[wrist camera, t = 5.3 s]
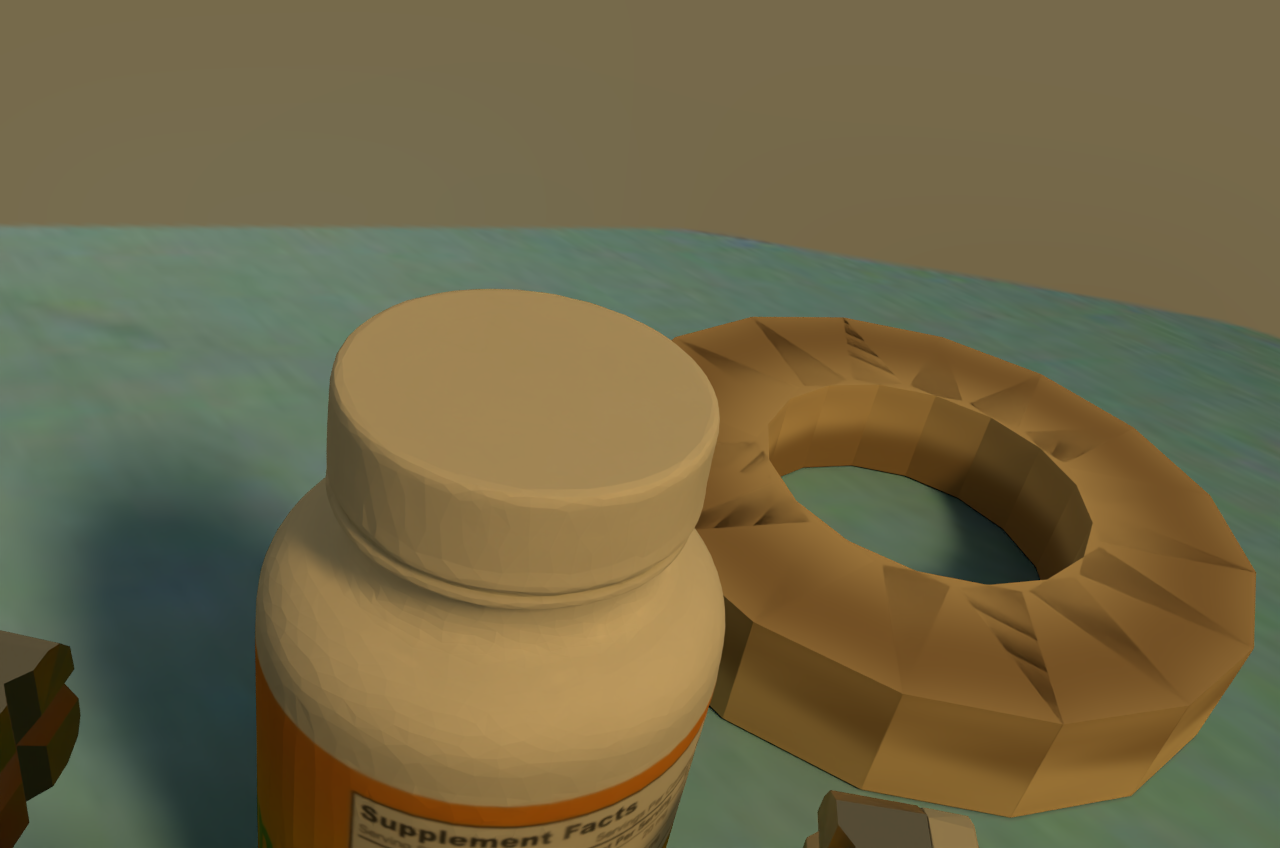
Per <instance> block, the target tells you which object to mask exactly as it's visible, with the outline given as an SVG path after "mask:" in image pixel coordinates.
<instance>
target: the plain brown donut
mask: <svg viewBox="0 0 1280 848" xmlns="http://www.w3.org/2000/svg"><path fill="white" fill-rule="evenodd" d="M671 341H672V342H674V343H675V344H676V345H678V346H679V347H680V348H681V349H682V350H683V351H685V352H686V353H687V354H688V355H689V356H690V357H691V358H692V359H693V360H694V361H695V362H696V363H697V364H698V365H699V367H700V368H701V369H702V370H703V372H704V373H705V375H706V376H707V378H708V380H709V381H710V383H711V385H712V387H713V389H714V392H715V394H716V397H717V400H718V407H719V416H720V424H719V434H718V438H717V442H716V446H715V450H714V454H713V458H712V463H711V468H710V472H709V477H708V481H707V487H706V494H705V499H704V504H703V508H702V511H701V514H700V517H699V520H698V522H697V524H696V526H695V529H696V530H697V532H698V534H699V535H700V537H701V538H702V540H703V541H704V543H705V545H706V547H707V549H708V551H709V553H710V554H711V557H712V559H713V562H714V565H715V567H716V569H717V572H718V576H719V579H720V583H721V587H722V592H723V597H724V606H725V635H724V644H723V650H722V655H721V661H720V665H719V670H718V675H717V681H716V685H715V688H714V692H713V695H712V699H711V702H710V706H711V707H712V708H713V709H714V710H715V711H716V712H717V713H718V714H719V715H720V716H721V717H722V718H723V719H725V720H727V721H729V722H731V723H733V724H735V725H737V726H739V727H741V728H743V729H745V730H746V731H748V732H750V733H752V734H754V735H756V736H758V737H760V738H762V739H764V740H766V741H768V742H770V743H772V744H774V745H776V746H778V747H780V748H781V749H783V750H785V751H787V752H789V753H791V754H793V755H795V756H797V757H799V758H801V759H803V760H805V761H807V762H809V763H811V764H813V765H815V766H816V767H818V768H820V769H822V770H824V771H826V772H828V773H830V774H832V775H834V776H836V777H838V778H840V779H842V780H844V781H846V782H848V783H850V784H851V785H853V786H855V787H857V788H859V789H862V790H867V791H872V792H878V793H883V794H888V795H894V796H899V797H904V798H909V799H915V800H920V801H925V802H931V803H936V804H941V805H947V806H952V807H957V808H963V809H968V810H973V811H979V812H984V813H989V814H995V815H1000V816H1005V817H1010V818H1011V817H1017V816H1022V815H1028V814H1033V813H1039V812H1044V811H1049V810H1055V809H1060V808H1066V807H1071V806H1077V805H1082V804H1088V803H1093V802H1099V801H1104V800H1110V799H1115V798H1121V797H1126V796H1131V795H1132V794H1133V793H1134V792H1136V791H1137V790H1138V789H1139V788H1140V787H1141V786H1142V785H1143V784H1144V783H1145V782H1146V781H1147V780H1148V779H1150V778H1151V777H1152V776H1153V775H1154V774H1155V773H1156V772H1157V771H1158V770H1159V769H1160V768H1161V767H1162V766H1163V765H1165V764H1166V763H1167V762H1168V761H1169V760H1170V759H1171V758H1172V757H1173V756H1174V755H1175V754H1176V753H1177V752H1178V751H1180V750H1181V749H1182V748H1183V747H1184V746H1185V745H1186V744H1187V743H1188V742H1189V741H1190V740H1191V739H1192V738H1194V737H1195V736H1196V735H1197V733H1198V732H1199V730H1200V729H1201V727H1202V726H1203V724H1204V723H1205V721H1206V720H1207V718H1208V717H1209V715H1210V714H1211V712H1212V711H1213V709H1214V708H1215V706H1216V705H1217V703H1218V702H1219V700H1220V699H1221V697H1222V696H1223V694H1224V693H1225V691H1226V690H1227V688H1228V687H1229V685H1230V684H1231V682H1232V681H1233V679H1234V678H1235V676H1236V675H1237V673H1238V672H1239V670H1240V669H1241V667H1242V666H1243V664H1244V662H1245V661H1246V659H1247V658H1248V656H1249V655H1250V653H1251V652H1252V650H1253V649H1254V624H1255V587H1256V572H1255V570H1254V569H1253V567H1252V565H1251V564H1250V562H1249V560H1248V558H1247V557H1246V555H1245V553H1244V552H1243V550H1242V548H1241V547H1240V545H1239V543H1238V542H1237V540H1236V538H1235V537H1234V535H1233V533H1232V532H1231V530H1230V528H1229V527H1228V525H1227V523H1226V521H1225V520H1224V518H1223V516H1222V515H1221V513H1220V511H1219V510H1218V508H1217V506H1216V505H1215V503H1214V501H1213V500H1212V498H1211V496H1210V495H1209V494H1208V493H1207V492H1205V491H1204V490H1203V489H1202V488H1201V487H1200V486H1199V485H1198V484H1196V483H1195V482H1194V481H1193V480H1192V479H1191V478H1190V477H1189V476H1187V475H1186V474H1185V473H1184V472H1183V471H1182V470H1181V469H1180V468H1178V467H1177V466H1176V465H1175V464H1174V463H1173V462H1172V461H1171V460H1169V459H1168V458H1167V457H1166V456H1165V455H1164V454H1163V453H1162V452H1160V451H1159V450H1158V449H1157V448H1156V447H1155V446H1154V445H1153V444H1151V443H1150V442H1149V441H1148V440H1147V439H1146V438H1145V437H1144V436H1142V435H1141V434H1140V433H1139V432H1138V431H1137V430H1136V429H1135V428H1133V427H1131V426H1130V425H1128V424H1126V423H1124V422H1123V421H1121V420H1119V419H1118V418H1116V417H1114V416H1112V415H1111V414H1109V413H1107V412H1105V411H1104V410H1102V409H1100V408H1099V407H1097V406H1095V405H1093V404H1092V403H1090V402H1088V401H1086V400H1085V399H1083V398H1081V397H1079V396H1078V395H1076V394H1074V393H1073V392H1071V391H1069V390H1067V389H1066V388H1064V387H1062V386H1060V385H1059V384H1057V383H1055V382H1054V381H1052V380H1050V379H1048V378H1047V377H1045V376H1043V375H1041V374H1039V373H1036V372H1033V371H1031V370H1028V369H1025V368H1023V367H1020V366H1017V365H1015V364H1012V363H1009V362H1007V361H1004V360H1001V359H999V358H996V357H993V356H991V355H988V354H985V353H983V352H980V351H977V350H975V349H972V348H969V347H967V346H964V345H961V344H959V343H956V342H953V341H951V340H948V339H945V338H943V337H938V336H933V335H928V334H923V333H918V332H913V331H908V330H903V329H898V328H893V327H888V326H883V325H878V324H873V323H868V322H863V321H858V320H853V319H848V318H831V317H750V318H746V319H742V320H739V321H735V322H731V323H727V324H723V325H720V326H716V327H712V328H708V329H705V330H701V331H697V332H693V333H689V334H686V335H682V336H678V337H675V338H674V339H673V340H671ZM845 465H853V466H858V467H864V468H869V469H874V470H879V471H884V472H889V473H894V474H899V475H904V476H907V477H910V478H912V479H914V480H917V481H919V482H922V483H924V484H926V485H929V486H931V487H934V488H936V489H938V490H941V491H943V492H945V493H948V494H950V495H953V496H955V497H957V498H959V499H960V500H962V501H963V502H965V503H966V504H968V505H969V506H971V507H972V508H973V509H975V510H976V511H978V512H979V513H981V514H982V515H984V516H985V517H987V518H988V519H989V520H991V521H992V522H994V523H995V524H997V525H998V526H1000V527H1001V528H1002V529H1004V530H1005V532H1006V533H1007V534H1008V535H1009V536H1010V537H1011V539H1012V540H1013V541H1014V542H1015V543H1016V544H1017V546H1018V547H1019V548H1020V549H1021V550H1022V551H1023V552H1024V554H1025V555H1026V556H1027V557H1028V558H1029V559H1030V561H1031V562H1032V563H1033V564H1034V565H1035V566H1036V568H1037V571H1038V574H1039V577H1040V580H1037V581H1026V582H1015V583H1005V584H994V585H985V584H980V583H975V582H970V581H964V580H959V579H954V578H949V577H944V576H939V575H933V574H928V573H923V572H918V571H915V570H913V569H910V568H908V567H906V566H904V565H901V564H899V563H897V562H895V561H892V560H890V559H888V558H886V557H883V556H881V555H879V554H877V553H874V552H872V551H870V550H868V549H865V548H863V547H861V546H858V545H856V544H854V543H852V542H849V541H848V540H846V539H845V538H844V537H842V536H841V535H840V534H838V533H837V532H836V531H835V530H833V529H832V528H831V527H829V526H828V525H827V524H826V523H824V522H823V521H822V520H820V519H819V518H818V517H816V516H815V515H814V514H813V513H811V512H810V511H809V510H807V509H806V508H805V507H804V506H802V505H801V504H800V503H798V502H797V501H796V500H795V498H794V497H793V495H792V494H791V492H790V491H789V489H788V488H787V486H786V485H785V483H784V481H783V480H782V478H781V476H783V475H786V474H788V473H790V472H793V471H795V470H798V469H800V468H803V467H823V466H845Z"/></svg>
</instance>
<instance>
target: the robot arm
mask: <svg viewBox="0 0 1280 848" xmlns="http://www.w3.org/2000/svg"><path fill="white" fill-rule="evenodd" d="M73 670H74V664H73V659H72V654H71V649H70V646H67V645H63V644H60V643H56V642H51V641H46V640H42V639H37V638H33V637H28V636H24V635H19V634H15V633H10V632H6V631H1V630H0V848H13V847H14V845H15V844H16V842H17V841H18V839H19V838H20V836H21V834H22V833H23V831H24V830H25V828H26V827H27V825H28V824H29V817H28V811H27V804H26V802H27V801H28V800H30V799H32V798H34V797H35V796H37V795H39V794H41V793H42V792H44V791H46V790H48V789H50V788H51V787H53V786H54V784H55V783H56V781H57V779H58V778H59V776H60V775H61V773H62V771H63V770H64V768H65V767H66V765H67V763H68V761H69V758H70V756H71V753H72V750H73V748H74V745H75V742H76V740H77V737H78V732H79V723H80V707H79V699H78V697H77V696H76V695H75V694H74V693H73V692H72V691H71V690H70V689H69V688H68V687H67V686H66V685H65V684H64V683H65V682H66V680H67V679H68V677H69V676H70V674H71V673H72V672H73ZM803 848H979V846H978V841H977V837H976V832H975V827H974V824H973V823H972V821H971V820H970V818H969V817H968V816H964V815H959V814H954V813H948V812H943V811H938V810H933V809H928V808H919V807H918V806H916V805H910V804H905V803H899V802H894V801H888V800H883V799H877V798H871V797H866V796H860V795H855V794H849V793H843V792H838V791H832V790H830V791H829V792H828V793H827V794H826V795H825V796H824V798H823V800H822V803H821V805H820V807H819V809H818V832H816V833H815V834H813V835H811V836H809V837H807V838H806V840H805V843H804V846H803Z"/></svg>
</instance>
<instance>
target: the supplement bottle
mask: <svg viewBox="0 0 1280 848" xmlns="http://www.w3.org/2000/svg"><path fill="white" fill-rule="evenodd" d="M719 424H720V416H719V407H718V400H717V397H716V394H715V392H714V389H713V387H712V385H711V383H710V381H709V380H708V378H707V376H706V375H705V373H704V372H703V370H702V369H701V368H700V367H699V365H698V364H697V363H696V362H695V361H694V360H693V359H692V358H691V357H690V356H689V355H688V354H687V353H686V352H685V351H683V350H682V349H681V348H680V347H679V346H678V345H676V344H675V343H674V342H672V341H671V340H670V339H668V338H667V337H665V336H664V335H662V334H661V333H659V332H658V331H656V330H654V329H652V328H650V327H649V326H647V325H645V324H643V323H641V322H638V321H636V320H634V319H632V318H630V317H628V316H626V315H623V314H620V313H617V312H615V311H612V310H609V309H607V308H604V307H601V306H598V305H595V304H592V303H589V302H585V301H580V300H576V299H572V298H568V297H564V296H560V295H555V294H549V293H542V292H532V291H524V290H512V289H474V290H459V291H450V292H444V293H437V294H433V295H429V296H424V297H420V298H416V299H412V300H407V301H405V302H402V303H400V304H397V305H395V306H392V307H390V308H388V309H386V310H384V311H382V312H380V313H378V314H377V315H375V316H373V317H372V318H370V319H369V320H368V321H366V322H365V323H363V324H362V325H360V326H359V327H358V328H357V329H356V330H355V331H354V332H353V333H351V334H350V335H349V336H348V337H347V339H346V340H345V342H344V343H343V345H342V347H341V348H340V350H339V351H338V353H337V355H336V358H335V361H334V364H333V368H332V372H331V377H330V386H329V403H328V421H327V470H326V477H325V478H324V479H323V480H322V481H320V482H319V483H318V484H317V485H316V486H314V487H313V488H312V489H311V490H310V491H309V492H307V493H306V494H305V496H304V497H303V498H302V499H301V500H300V501H299V502H298V503H297V504H296V505H295V506H294V508H293V509H292V510H291V511H290V512H289V514H288V515H287V517H286V518H285V520H284V521H283V523H282V524H281V525H280V527H279V528H278V530H277V532H276V534H275V536H274V538H273V540H272V542H271V544H270V546H269V549H268V551H267V553H266V555H265V558H264V562H263V565H262V568H261V573H260V578H259V584H258V591H257V598H256V623H255V663H256V724H257V821H258V848H666V846H667V842H668V839H669V836H670V833H671V829H672V826H673V822H674V819H675V815H676V812H677V809H678V805H679V802H680V799H681V796H682V793H683V789H684V786H685V783H686V780H687V776H688V773H689V769H690V766H691V763H692V759H693V756H694V752H695V749H696V746H697V743H698V740H699V737H700V734H701V731H702V728H703V724H704V721H705V718H706V714H707V711H708V708H709V705H710V702H711V699H712V695H713V692H714V688H715V685H716V681H717V675H718V670H719V665H720V661H721V655H722V650H723V644H724V635H725V606H724V597H723V592H722V587H721V583H720V579H719V576H718V572H717V569H716V567H715V565H714V562H713V559H712V557H711V554H710V553H709V551H708V549H707V547H706V545H705V543H704V541H703V540H702V538H701V537H700V535H699V534H698V532H697V530H696V529H695V526H696V524H697V522H698V520H699V517H700V514H701V511H702V508H703V504H704V499H705V494H706V487H707V481H708V477H709V472H710V468H711V463H712V458H713V454H714V450H715V446H716V442H717V438H718V434H719Z"/></svg>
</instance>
